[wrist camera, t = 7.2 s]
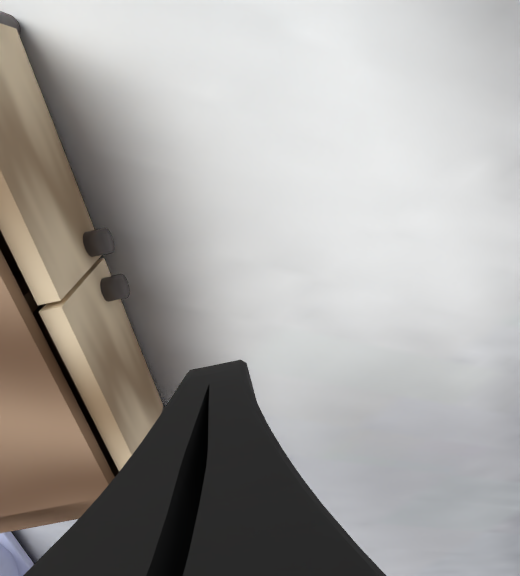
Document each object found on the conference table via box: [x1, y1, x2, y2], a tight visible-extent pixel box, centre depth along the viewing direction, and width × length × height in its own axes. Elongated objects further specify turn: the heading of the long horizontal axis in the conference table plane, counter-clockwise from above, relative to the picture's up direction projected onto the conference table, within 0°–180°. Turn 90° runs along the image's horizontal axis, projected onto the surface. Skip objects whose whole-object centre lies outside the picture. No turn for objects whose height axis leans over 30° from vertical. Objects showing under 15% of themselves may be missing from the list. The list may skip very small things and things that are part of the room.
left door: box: [39, 258, 165, 471], centre depth 15 cm, size 8×1×5 cm, turn 12°
